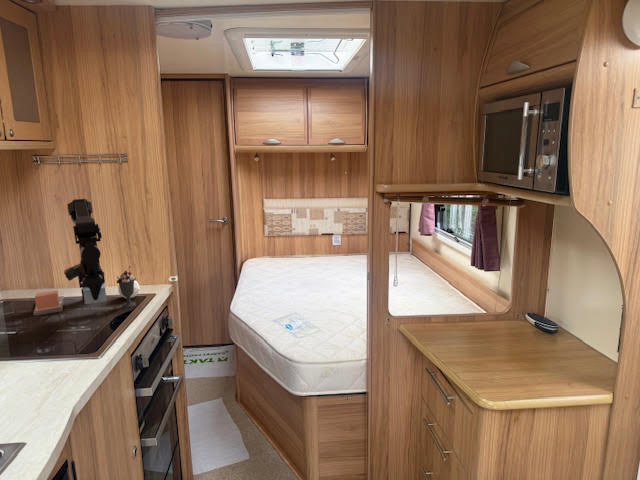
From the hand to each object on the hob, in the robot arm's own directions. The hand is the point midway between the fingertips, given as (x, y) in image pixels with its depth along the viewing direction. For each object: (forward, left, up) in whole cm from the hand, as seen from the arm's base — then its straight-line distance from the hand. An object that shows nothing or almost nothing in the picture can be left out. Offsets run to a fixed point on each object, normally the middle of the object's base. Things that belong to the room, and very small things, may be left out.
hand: (95, 297), depth 161 cm
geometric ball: (-12, -11, -6) cm, 17 cm away
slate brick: (0, 0, -1) cm, 1 cm away
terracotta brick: (+16, -13, -4) cm, 21 cm away
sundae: (-11, -2, -6) cm, 13 cm away
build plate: (+16, -16, -6) cm, 23 cm away
